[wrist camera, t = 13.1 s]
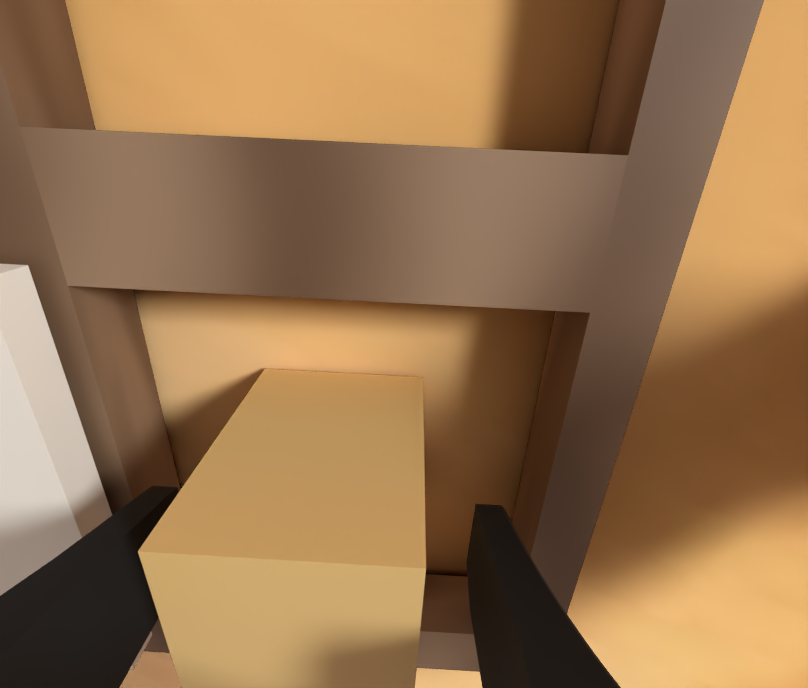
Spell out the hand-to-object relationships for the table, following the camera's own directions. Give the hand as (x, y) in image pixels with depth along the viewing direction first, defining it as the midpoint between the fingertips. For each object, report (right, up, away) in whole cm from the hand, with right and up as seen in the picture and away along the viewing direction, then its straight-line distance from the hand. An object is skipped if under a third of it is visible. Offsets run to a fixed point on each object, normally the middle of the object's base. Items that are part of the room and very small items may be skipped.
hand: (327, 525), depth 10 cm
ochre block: (0, +2, +3) cm, 3 cm away
